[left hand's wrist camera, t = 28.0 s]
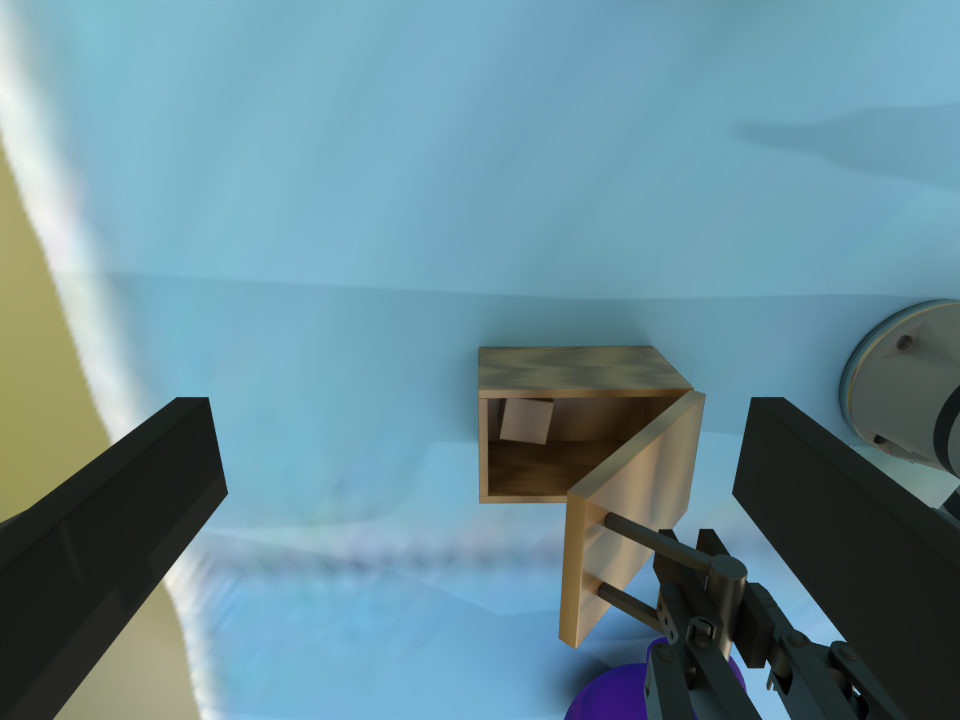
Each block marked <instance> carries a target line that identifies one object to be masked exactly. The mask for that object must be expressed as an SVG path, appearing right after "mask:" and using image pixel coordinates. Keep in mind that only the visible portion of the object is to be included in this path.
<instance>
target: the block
mask: <svg viewBox="0 0 960 720" xmlns="http://www.w3.org/2000/svg"><path fill="white" fill-rule="evenodd" d="M553 408H554V400H553V398H501V401H500V407H499V412H498V429H499V439H505V440H512V441H520V442H528V443H536V444H543V445H545V444H546V440H547V435H548V431H549V426H550V422H551V417H552V412H553Z"/></svg>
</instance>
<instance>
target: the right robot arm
mask: <svg viewBox="0 0 960 720" xmlns="http://www.w3.org/2000/svg"><path fill="white" fill-rule="evenodd" d="M840 405H841V410H842V413H843V416H844V419H845V421H846V423H847V424H848V426H849V427H850V429H851V430H852V431H853V432H854V433H855V434H856V435H857V436H858V437H860V438H861V439H862V440H864V441H865V442H867V443H868V444H870V445H871V446H872V447H874V448H876V449H877V450H879V451H882V452H884V453H886V454H889V455H891V456H894V457H897V458H901V459H904V460H908V461H909V462H911V463H912V464H913V462H915V463H919V464H922V465H926V466H929V467H933V468H936V469H940V470H944V471H947V472H949V473H951V474H952V475H954V476H956V477H957V478H959V479H960V300H936V301H930V302H926V303H922V304H918V305H916V306H913V307H910V308H908V309H906V310H903V311H901V312H899V313H898V314H896V315H894V316H892V317H891V318H889V319H888V320H886V321H885V322H883V323H882V324H881V325H879V326H878V327H877V328H876V329H875V330H873V331H872V332H871V333H870V334H869V335H868V336H867V337H866V338H865V339H864V340H863V342H862V343H861V344H860V345H859V347H858V348H857V349H856V351H855V352H854V354H853V355H852V357H851V359H850V360H849V362H848V365H847V367H846V369H845V372H844V375H843V378H842V382H841V387H840ZM938 510H939V511H941V512H943V513H945V514H947V515H949V516H951V517H953V518H955V519H957V520H959V521H960V485H959V486H958V487H957V488H956V490H955V491H954V492H953V493H952V494H951V495H950V497H949V498H948V499H947V500H946V501H945V502H944V503H943V504H942V505H941V507H940V508H939V509H938ZM658 533H660V534H662V535H664V536H667V537H669V538H671V539H673V540H676V541H678V539H677V538H676V536H675V534H674V532H673V530H672V529H659V530H658ZM678 542H679V541H678ZM696 550H698V551H700V552H702V553H704V554H707V555H709V556H711V557H714V556H716V555H728V556H730V554H729V553H728V551H727V550H726V548H725V547H724V545H723V544H722V542H721V541H720V539H719V537H718V536H717V534H716V533H715V531H714V530H713V529H700V530H699V535H698V541H697V546H696ZM653 569H654V571H655V573H656V575H657V578H658V580H659V582H660V590H659V596H658V602H657V612H656V613H657V615H658V618H659V620H660V622H661V625H662V627H663V630H664V632H665V635H666V637H667V640H668V642H669V644H668V643H664V642H657V643H655V644H653V645H652V647H651V649H650V655H649V661H648V667H647V673H646V679H645V685H644V697H645V703H646V709H647V716H648V720H695V717H694V713H693V709H694V711H695V713H696V715H697V717H698V720H762V718H761V717H760V715H759V713H758V712H757V710H756V708H755V707H754V705H753V703H752V702H751V700H750V698H749V697H748V695H747V693H746V692H745V690H744V688H743V687H742V685H741V683H740V682H739V680H738V678H737V677H736V675H735V674H734V672H733V670H732V669H731V667H730V665H729V664H728V662H727V660H726V659H725V657H724V655H723V654H722V652H721V650H720V649H719V645H720V641H721V636H722V632H723V628H724V624H723V622H722V620H721V618H720V616H719V614H718V613H717V611H716V609H715V607H714V605H713V603H712V602H711V600H710V598H709V596H708V595H707V593H706V591H705V585H706V579H707V576H706V575H704V574H702V573H700V572H698V571H696V570H695V571H694V569H692V568H690V567H688V566H685V565H683V564H681V563H679V562H677V561H675V560H673V559H671V558H669V557H666V556H664V555H662V554H660V553H658V552H656V551H655V556H654V562H653ZM733 642H734V644H735V646H736V648H737V649H738V651H739V653H740V655H741V657H742V659H743V660H744V662H745V664H746V666H747V668H764V666H765V662H766V659H767V661H768V662H769V664H770V666H771V670H770V674H769V677H768V681H767V685H766V687H767V690H770V688H771V685H772V682H773V684H774V687H773V691H777V692H778V694H779V696H780V698H781V700H782V702H783V704H784V706H785V708H786V710H787V712H788V714H789V717H790V719H791V720H907V719H906V717H905V716H904V715H903V713H902V712H901V711H900V710H899V708H898V707H897V706H896V704H895V703H894V702H893V701H892V699H891V698H890V697H889V695H888V694H887V693H886V692H885V690H884V689H883V688H882V686H881V685H880V684H879V683H878V681H877V680H876V679H875V677H874V676H873V675H872V674H871V672H870V671H869V670H868V668H867V667H866V666H865V665H864V663H863V662H862V661H861V659H860V658H859V657H858V656H857V654H856V653H855V652H854V650H853V649H852V648H851V646H850V645H849V644H848V643H847V642H844V641H834V642H832V643H831V646H830V647H828V646H824V645H820V644H816V643H813V642H811V641H810V640H809V638H808V637H807V636H806V635H804V634H803V633H802V632H799V631H797V630H795V629H794V628H793V626H792V625H791V624H790V622H789V621H788V619H787V618H786V616H785V615H784V613H783V612H782V611H781V609H780V608H779V607H778V605H777V603H776V602H775V600H773V598H772V596H771V595H770V593H769V592H768V590H766V589H765V588H764V587H763V586H762V585H760V584H759V583H748V582H747V580H746V583H745V587H744V592H743V597H742V601H741V606H740V610H739V615H738V619H737V624H736V628H735V633H734V638H733ZM854 688H856V689H857V691H858V692H859V693H860V695H858V694H857V693H856V692H855V691H854ZM692 707H693V708H692Z"/></svg>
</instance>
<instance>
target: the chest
mask: <svg viewBox="0 0 960 720" xmlns="http://www.w3.org/2000/svg"><path fill="white" fill-rule="evenodd" d="M689 390H692V391H694V388H693V387H692V386H691V385H690V384H689V383H688V381H687V380H686V379H685V378H684V377H683V376H682V375H681V374H680V373H679V372H678V371H677V370H676V369H675V368H674V367H673V366H672V365H671V364H670V363H669V362H668V361H667V360H666V359H665V358H664V357H663V356H662V355H661V354H660V353H659V352H658V351H657V350H656V349H655V348H654V347H653V346H622V347H503V348H478V428H479V503H567V491H568V490H569V489H571V488H572V487H573V486H574V485H575V484H577V483H578V482H579V481H580V480H581V479H583V478H584V477H585V476H586V475H588V474H589V473H590V472H591V471H592V470H594V469H595V468H596V467H597V466H598V465H600V464H601V463H602V462H603V461H604V460H606V459H607V458H608V457H609V456H611V455H612V454H613V453H614V452H615V451H617V450H618V449H619V448H620V447H621V446H623V445H624V444H625V443H626V442H628V441H629V440H630V439H631V438H632V437H634V436H635V435H636V434H637V433H638V432H640V431H641V430H642V429H643V428H645V427H646V426H647V425H648V424H649V423H651V422H652V421H653V420H654V419H655V418H657V417H658V416H659V415H660V414H662V413H663V412H664V411H665V410H666V409H668V408H669V407H670V406H671V405H672V404H674V403H675V402H676V401H677V400H678V399H680V398H681V397H682V396H683V395H685V394H686V393H687V392H688V391H689ZM501 398H553V400H554V408H553V412H552V417H551V422H550V426H549V431H548V435H547V440H546V444H545V445H543V444H536V443H528V442H520V441H512V440H505V439H499V429H498V412H499V407H500V401H501Z"/></svg>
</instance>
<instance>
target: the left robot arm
mask: <svg viewBox="0 0 960 720" xmlns="http://www.w3.org/2000/svg"><path fill="white" fill-rule="evenodd" d="M227 494H228V491H227V486H226V481H225V476H224V471H223V467H222V462H221V457H220V452H219V447H218V442H217V437H216V432H215V427H214V422H213V417H212V412H211V407H210V402H209V397H176V398H175V399H174V400H172V401H171V402H170V403H168V404H167V405H166V406H164V407H163V408H162V409H160V410H159V411H158V412H157V413H155V414H154V415H153V416H151V417H150V418H149V419H147V420H146V421H145V422H143V423H142V424H141V425H139V426H138V427H137V428H135V429H134V430H133V431H131V432H130V433H129V434H127V435H126V436H125V437H123V438H122V439H121V440H119V441H118V442H117V443H115V444H114V445H113V446H111V447H110V448H109V449H107V450H106V451H105V452H103V453H102V454H101V455H99V456H98V457H97V458H95V459H94V460H93V461H91V462H90V463H89V464H87V465H86V466H85V467H83V468H82V469H81V470H79V471H78V472H77V473H75V474H74V475H73V476H71V477H70V478H69V479H67V480H66V481H65V482H63V483H62V484H61V485H60V486H58V487H57V488H56V489H54V490H53V491H51V492H50V493H49V494H48V495H46V496H45V497H44V498H42V499H41V500H40V501H38V502H37V503H36V504H34V505H33V506H32V507H30V508H29V509H28V510H25V511H23V512H21V513H19V514H17V515H15V516H13V517H11V518H10V519H8V520H6V521H4V522H2V523H0V720H53V719H54V717H55V716H56V715H57V713H58V712H59V711H60V710H61V708H62V707H63V706H64V704H65V703H66V702H67V701H68V699H69V698H70V697H71V695H72V694H73V693H74V692H75V690H76V689H77V688H78V686H79V685H80V684H81V682H82V681H83V680H84V679H85V677H86V676H87V675H88V674H89V672H90V671H91V670H92V668H93V667H94V666H95V665H96V663H97V662H98V661H99V659H100V658H101V657H102V655H103V654H104V653H105V652H106V650H107V649H108V648H109V646H110V645H111V644H112V643H113V641H114V640H115V639H116V637H117V636H118V635H119V634H120V632H121V631H122V630H123V628H124V627H125V626H126V625H127V623H128V622H129V621H130V619H131V618H132V617H133V616H134V614H135V613H136V612H137V610H138V609H139V608H140V607H141V605H142V604H143V603H144V601H145V600H146V599H147V598H148V596H149V595H150V594H151V592H152V591H153V590H154V589H155V587H156V586H157V585H158V583H159V582H160V581H161V579H162V578H163V577H164V576H165V574H166V573H167V572H168V570H169V569H170V568H171V567H172V565H173V564H174V563H175V561H176V560H177V559H178V558H179V556H180V555H181V554H182V552H183V551H184V550H185V549H186V547H187V546H188V545H189V543H190V542H191V541H192V540H193V538H194V537H195V536H196V534H197V533H198V532H199V531H200V529H201V528H202V527H203V525H204V524H205V523H206V522H207V520H208V519H209V518H210V516H211V515H212V514H213V512H214V511H215V510H216V509H217V507H218V506H219V505H220V503H221V502H222V501H223V500H224V498H225V497H226V496H227ZM732 494H733V496H734V497H735V498H736V500H737V501H738V502H739V503H740V505H741V506H742V507H743V509H744V510H745V511H746V512H747V514H748V515H749V516H750V518H751V519H752V520H753V522H754V523H755V524H756V525H757V527H758V528H759V529H760V531H761V532H762V533H763V534H764V536H765V537H766V538H767V540H768V541H769V542H770V543H771V545H772V546H773V547H774V549H775V550H776V551H777V552H778V554H779V555H780V556H781V558H782V559H783V560H784V561H785V563H786V564H787V565H788V567H789V568H790V569H791V570H792V572H793V573H794V574H795V576H796V577H797V578H798V579H799V581H800V582H801V583H802V585H803V586H804V587H805V589H806V590H807V591H808V592H809V594H810V595H811V596H812V598H813V599H814V600H815V601H816V603H817V604H818V605H819V607H820V608H821V609H822V610H823V612H824V613H825V614H826V616H827V617H828V618H829V619H830V621H831V622H832V623H833V625H834V626H835V627H836V628H837V630H838V631H839V632H840V634H841V635H842V636H843V637H844V639H845V640H846V641H847V643H848V644H849V645H850V646H851V648H852V649H853V650H854V652H855V653H856V654H857V656H858V657H859V658H860V659H861V661H862V662H863V663H864V665H865V666H866V667H867V668H868V670H869V671H870V672H871V674H872V675H873V676H874V677H875V679H876V680H877V681H878V683H879V684H880V685H881V686H882V688H883V689H884V690H885V692H886V693H887V694H888V695H889V697H890V698H891V699H892V701H893V702H894V703H895V704H896V706H897V707H898V708H899V710H900V711H901V712H902V713H903V715H904V716H905V717H906V719H907V720H960V521H959V520H957V519H955V518H953V517H951V516H949V515H947V514H945V513H943V512H941V511H939V510H937V509H935V508H930V507H928V506H927V505H926V504H924V503H923V502H922V501H920V500H919V499H918V498H916V497H915V496H914V495H912V494H911V493H910V492H908V491H907V490H906V489H905V488H903V487H902V486H901V485H899V484H898V483H897V482H895V481H894V480H893V479H891V478H890V477H889V476H887V475H886V474H885V473H883V472H882V471H881V470H879V469H878V468H877V467H875V466H874V465H873V464H871V463H870V462H869V461H867V460H866V459H865V458H863V457H862V456H861V455H859V454H858V453H857V452H855V451H854V450H853V449H851V448H850V447H849V446H847V445H846V444H845V443H843V442H842V441H841V440H839V439H838V438H837V437H835V436H834V435H833V434H831V433H830V432H829V431H827V430H826V429H825V428H823V427H822V426H821V425H819V424H818V423H817V422H815V421H814V420H813V419H811V418H810V417H809V416H807V415H806V414H805V413H803V412H802V411H801V410H800V409H798V408H797V407H796V406H794V405H793V404H792V403H790V402H789V401H788V400H786V399H785V398H784V397H751V402H750V407H749V412H748V417H747V422H746V427H745V432H744V437H743V442H742V447H741V452H740V457H739V462H738V466H737V471H736V476H735V481H734V486H733V491H732Z"/></svg>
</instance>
